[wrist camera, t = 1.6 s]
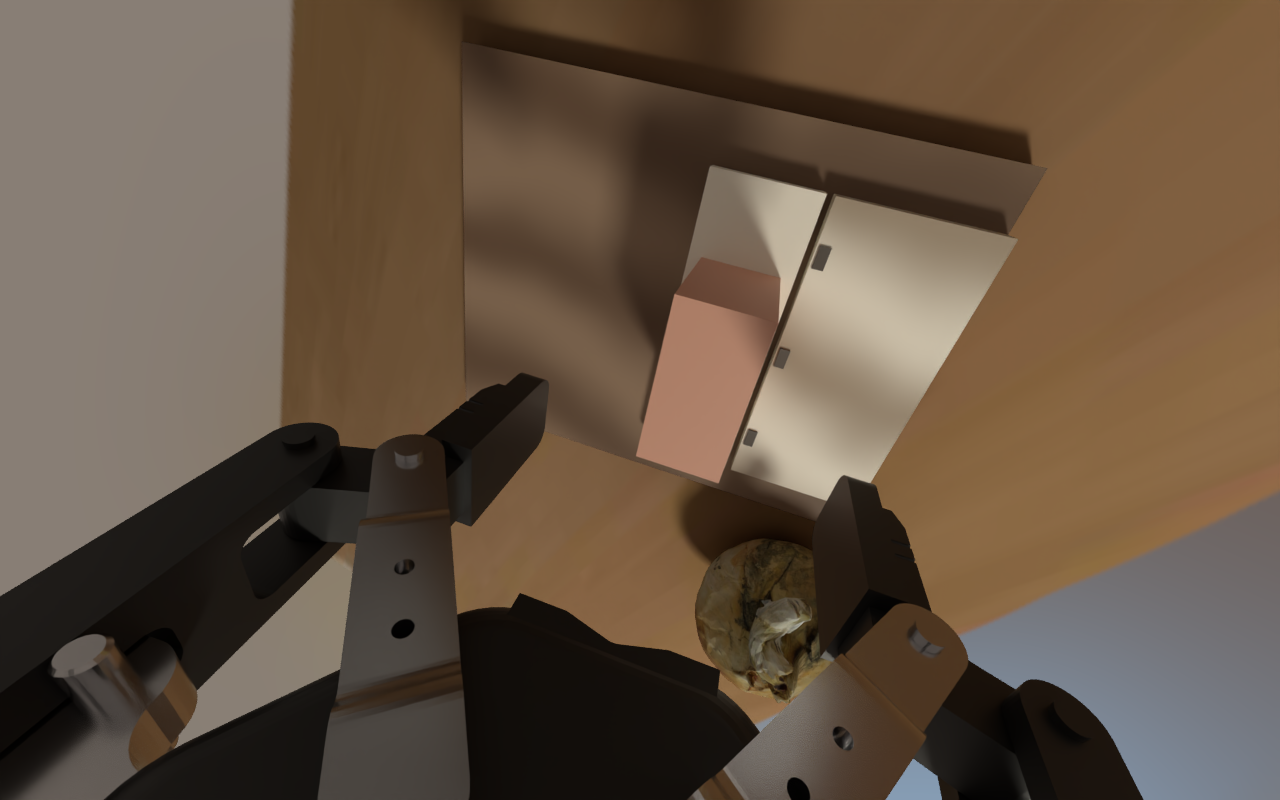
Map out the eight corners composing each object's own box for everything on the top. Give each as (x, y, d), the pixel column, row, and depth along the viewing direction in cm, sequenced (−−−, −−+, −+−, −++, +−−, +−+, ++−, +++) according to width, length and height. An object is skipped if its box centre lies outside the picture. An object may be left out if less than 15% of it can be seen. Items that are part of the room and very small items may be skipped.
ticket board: (477, 45, 18) (446, 36, 16) (1032, 166, 15) (1061, 169, 13) (476, 396, 26) (456, 413, 24) (832, 513, 23) (836, 540, 22)
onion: (676, 537, 27) (640, 668, 20) (804, 492, 23) (811, 635, 17) (745, 622, 29) (732, 767, 22) (874, 593, 25) (906, 758, 18)
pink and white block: (713, 165, 16) (682, 175, 12) (825, 191, 16) (841, 214, 11) (647, 432, 23) (609, 511, 18) (726, 458, 22) (709, 546, 17)
